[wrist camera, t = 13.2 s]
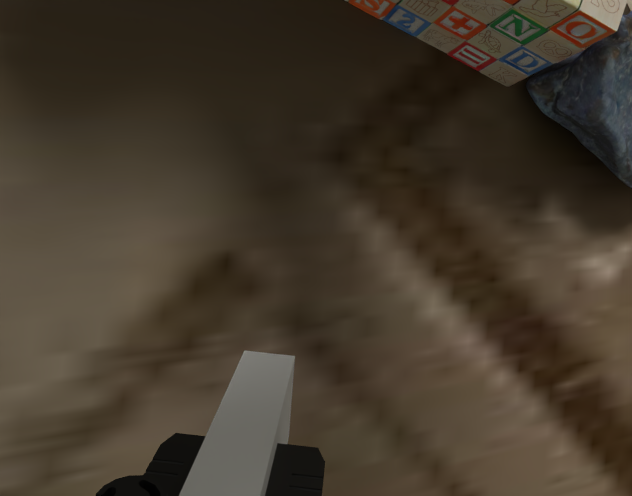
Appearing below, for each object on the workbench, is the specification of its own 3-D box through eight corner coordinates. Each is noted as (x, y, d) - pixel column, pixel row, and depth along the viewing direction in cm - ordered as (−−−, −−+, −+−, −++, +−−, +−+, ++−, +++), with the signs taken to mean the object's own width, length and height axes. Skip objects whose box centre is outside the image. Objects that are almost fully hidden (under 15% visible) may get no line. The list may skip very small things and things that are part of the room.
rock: (558, 6, 49) (495, 64, 45) (660, -18, 43) (595, 48, 39) (601, 157, 56) (549, 219, 52) (694, 156, 50) (642, 227, 46)
